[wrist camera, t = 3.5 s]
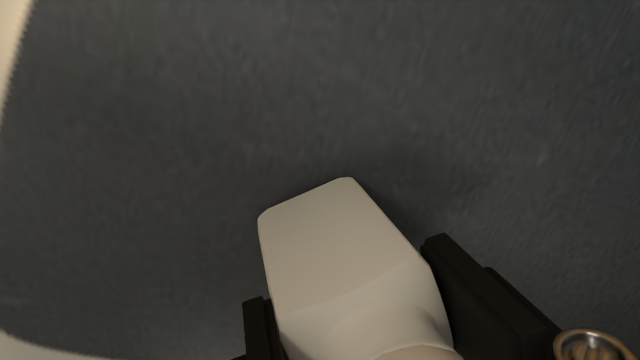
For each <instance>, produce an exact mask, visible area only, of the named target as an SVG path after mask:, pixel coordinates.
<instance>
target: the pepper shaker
mask: <svg viewBox="0 0 640 360" xmlns="http://www.w3.org/2000/svg"><path fill="white" fill-rule="evenodd" d="M258 235H259V240H260V245H261V251H262V256H263V262H264V267H265V272H266V278H267V283H268V288H269V294H270V298H271V300H272V305H273V311H274V316H275V321H276V326H277V331H278V335H279V338H280V341H281V344H282V346H283V349H284V351H285V353H286V355H287V357H288V359H289V360H464V359H463V358H462V356H461V355H460V354H458V353H457V352H456V351H455V350H454V349H453V348H454V346H453V340H452V333H451V329H450V326H449V322H448V318H447V314H446V311H445V308H444V305H443V302H442V298H441V295H440V292H439V290H438V287H437V284H436V282H435V279H434V276H433V273H432V271H431V268H430V266H429V264H428V263H427V262H426V261H425V260H424V259H423V257H422V256H421V255H420V254H419V253H418V252H417V251H416V249H415V248H414V247H413V246H412V245H411V244H410V242H409V241H408V240H407V239H406V238H405V237H404V236H403V234H402V233H401V232H400V231H399V230H398V229H397V227H396V226H395V225H394V224H393V223H392V222H391V221H390V219H389V218H388V217H387V216H386V215H385V214H384V213H383V211H382V210H381V209H380V208H379V207H378V206H377V204H376V203H375V202H374V201H373V200H372V199H371V198H370V196H369V195H368V194H367V193H366V192H365V191H364V189H363V188H362V187H361V186H360V185H359V184H358V183H357V182H356V181H355V180H354V179H353V178H352V177H343V178H337V179H335V180H333V181H330V182H328V183H326V184H323V185H321V186H319V187H317V188H314V189H312V190H310V191H307V192H305V193H303V194H301V195H298V196H296V197H294V198H291V199H289V200H287V201H285V202H282V203H280V204H278V205H275V206H273V207H271V208H269V209H267V210H266V211H264V212H263V213H262V214H261V215H260V216H259V217H258Z"/></svg>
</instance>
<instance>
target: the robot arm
mask: <svg viewBox="0 0 640 360" xmlns="http://www.w3.org/2000/svg"><path fill="white" fill-rule="evenodd" d="M420 252H421V256H422V257H423V259H424V260H425V261H426V262H427V263H428V264H429V266H430V268H431V271H432V273H433V276H434V279H435V282H436V284H437V287H438V290H439V292H440V295H441V298H442V302H443V305H444V308H445V311H446V314H447V318H448V322H449V326H450V329H451V333H452V340H453V346H454V348H453V349H454V350H455V351H456V352H457V353H458V354H460V355H461V356H462V358H463V359H464V360H638V359H637V358H636V357H635V355H634V354H633V353H632V352H631V351H630V350H629V349H628V348H627V347H626V346H625V345H624V344H623V343H622V342H620V341H619V340H618V339H616V338H614V337H613V336H611V335H609V334H607V333H604V332H602V331H599V330H596V329H590V328H571V329H568V330H565V331H562V330H561V329H560V328H559V327H557V326H556V325H555V324H554V323H553V322H552V321H551V320H550V319H549V318H547V317H546V316H545V315H544V314H543V313H542V312H541V311H540V310H538V309H537V308H536V307H535V306H534V305H533V304H532V303H531V302H530V301H528V300H527V299H526V298H525V297H524V296H523V295H522V294H521V293H520V292H518V291H517V290H516V289H515V288H514V287H513V286H512V285H511V284H510V283H508V282H507V281H506V280H505V279H504V278H503V277H502V276H501V275H499V274H498V273H497V272H496V271H495V270H494V269H492V268H490V267H485V268H483V267H481V266H480V265H479V264H478V263H477V262H476V261H475V260H474V259H473V258H472V257H471V256H470V255H469V254H467V253H466V252H465V251H464V250H463V249H462V248H461V247H460V246H459V245H458V244H457V243H456V242H455V241H453V240H452V239H451V238H450V237H449V236H448V235H447V234H446V233H441V234H438V235H435V236H432V237H429V238H426V239H425V244H424V245H421V246H420ZM242 308H243V320H244V332H245V344H246V354H245V355H242V356H240V357H237V358H234V359H231V360H289V359H288V357H287V355H286V353H285V351H284V349H283V346H282V344H281V341H280V338H279V335H278V331H277V326H276V321H275V316H274V311H273V305H272V300H271V298H269V299H266V300H264V299H263V297H262V295H261V296H258V297H256V298H253V299H250V300H247V301H244V302H242Z"/></svg>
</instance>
